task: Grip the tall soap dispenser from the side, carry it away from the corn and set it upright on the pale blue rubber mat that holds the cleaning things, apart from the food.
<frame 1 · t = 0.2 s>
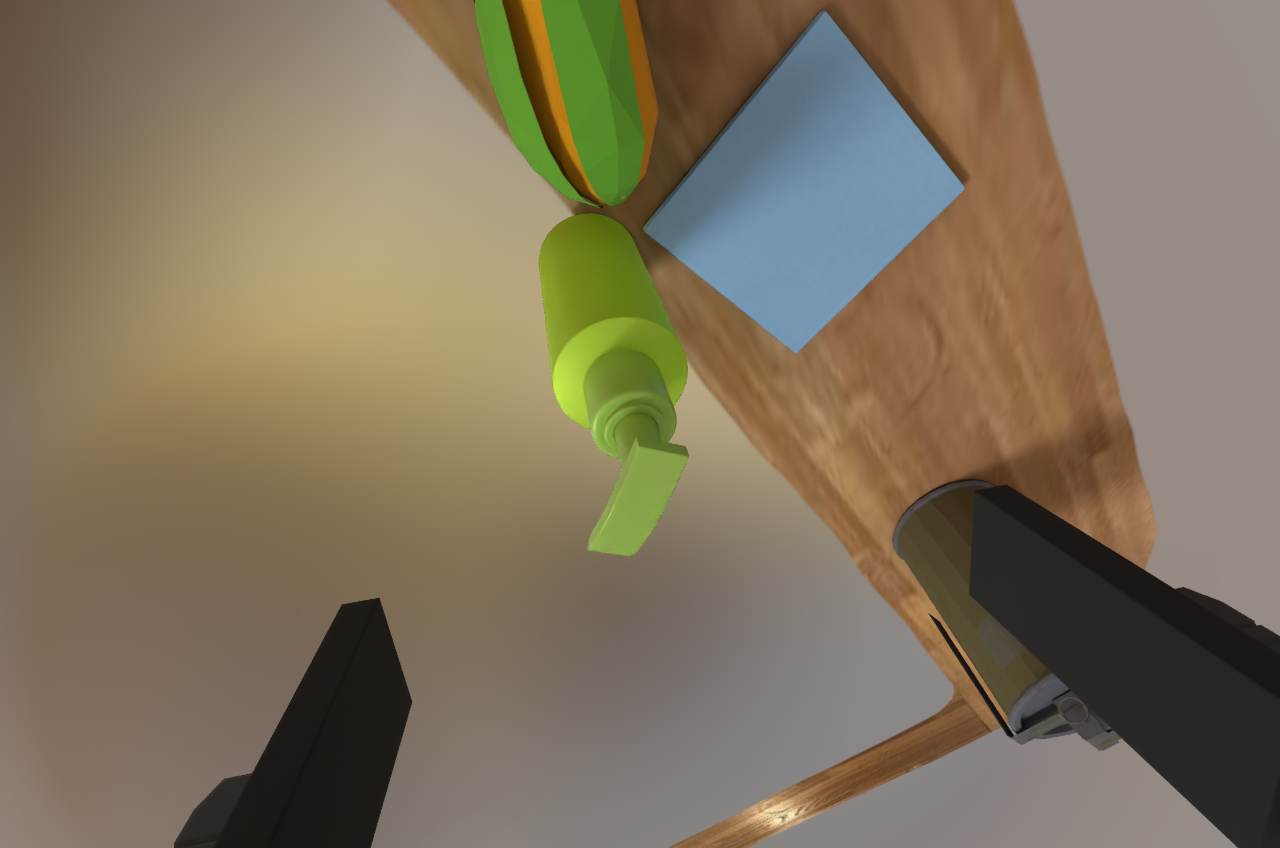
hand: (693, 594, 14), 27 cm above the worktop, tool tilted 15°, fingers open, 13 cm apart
canister: (943, 522, 58), on the worktop
blue mat: (805, 206, 38), on the worktop
soap dispenser: (585, 269, 38), on the worktop
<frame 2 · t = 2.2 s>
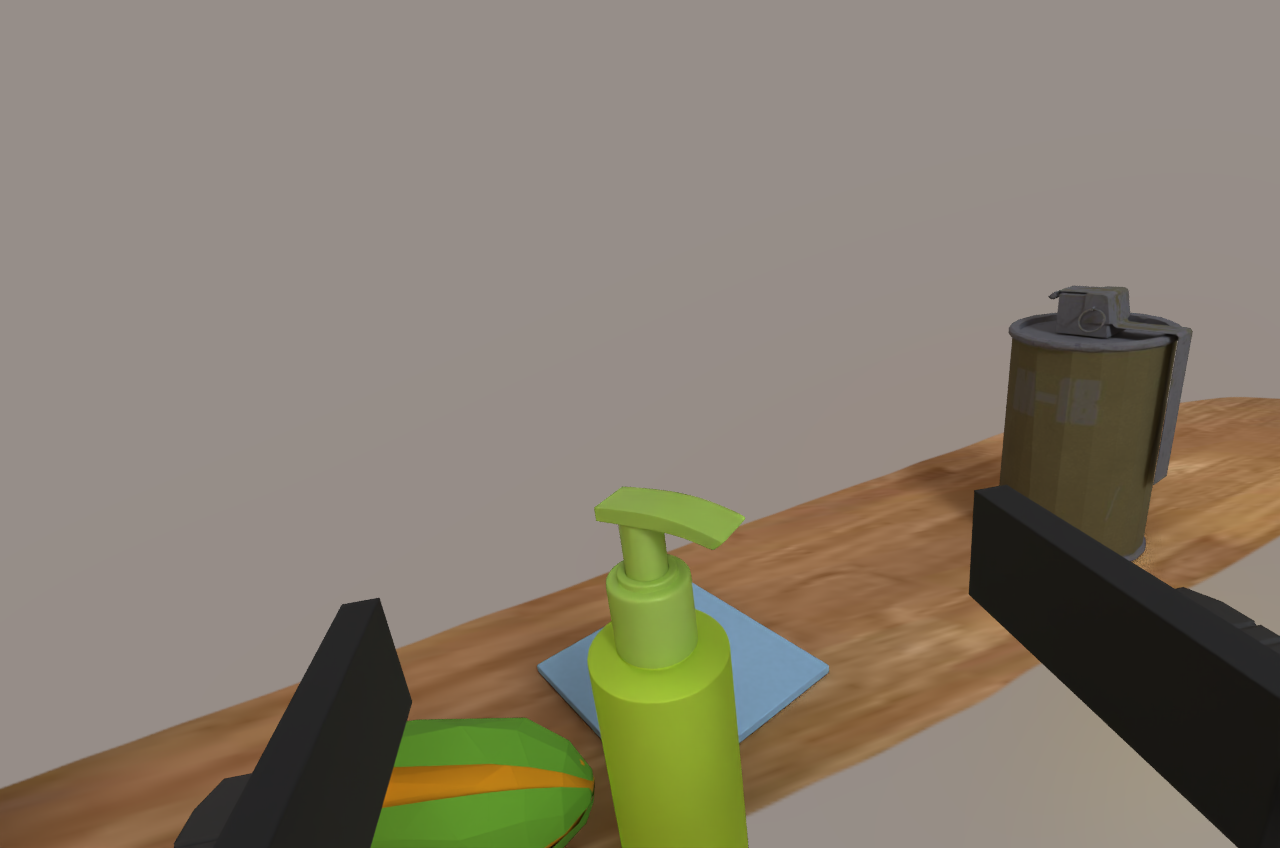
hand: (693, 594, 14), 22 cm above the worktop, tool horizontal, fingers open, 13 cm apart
canister: (1067, 536, 53), on the worktop
blue mat: (677, 672, 43), on the worktop
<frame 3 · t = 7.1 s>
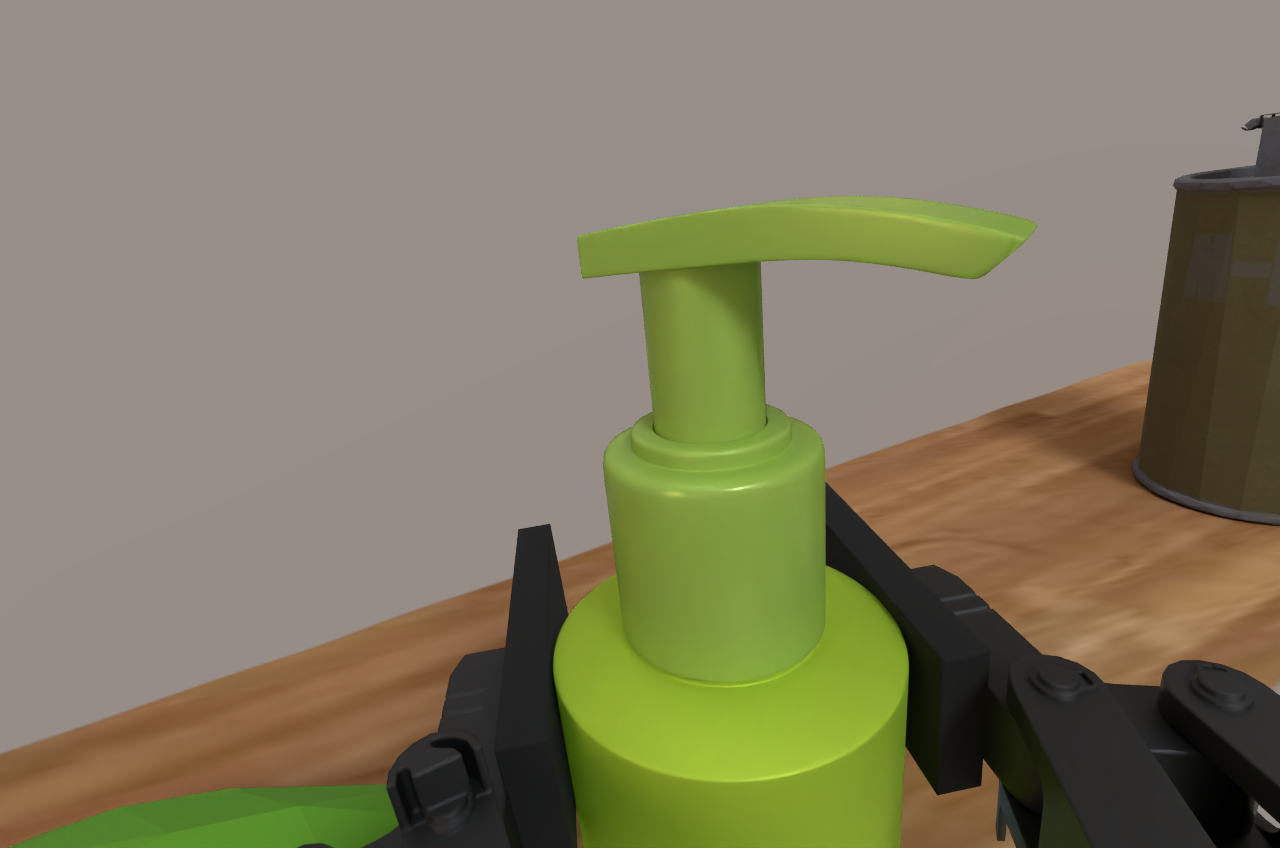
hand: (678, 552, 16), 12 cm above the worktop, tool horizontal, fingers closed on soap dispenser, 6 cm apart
canister: (1247, 487, 37), on the worktop
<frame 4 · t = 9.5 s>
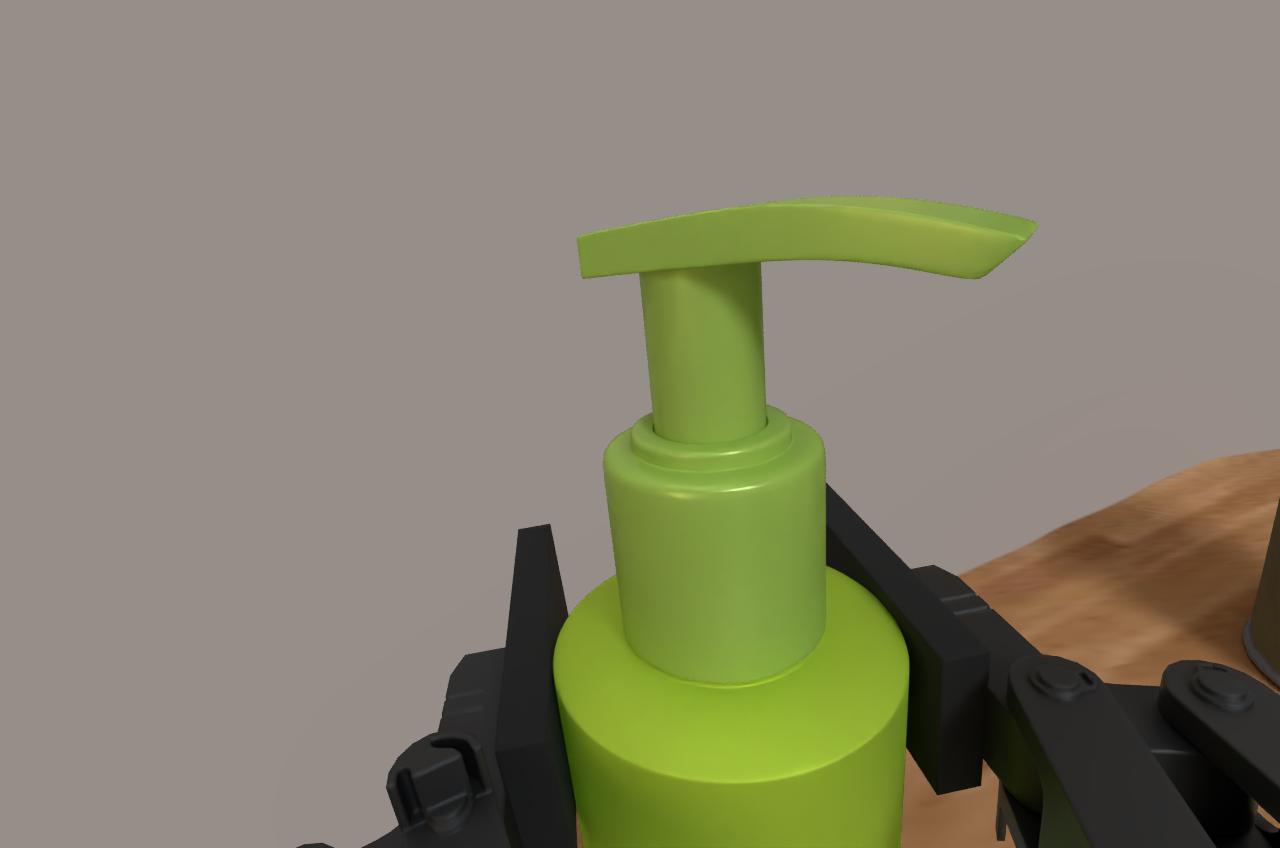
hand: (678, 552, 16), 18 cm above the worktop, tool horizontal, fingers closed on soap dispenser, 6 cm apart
when the fingers open (12 cm above the worktop, at t = 11.9 s): soap dispenser stays where it is, resting on blue mat.
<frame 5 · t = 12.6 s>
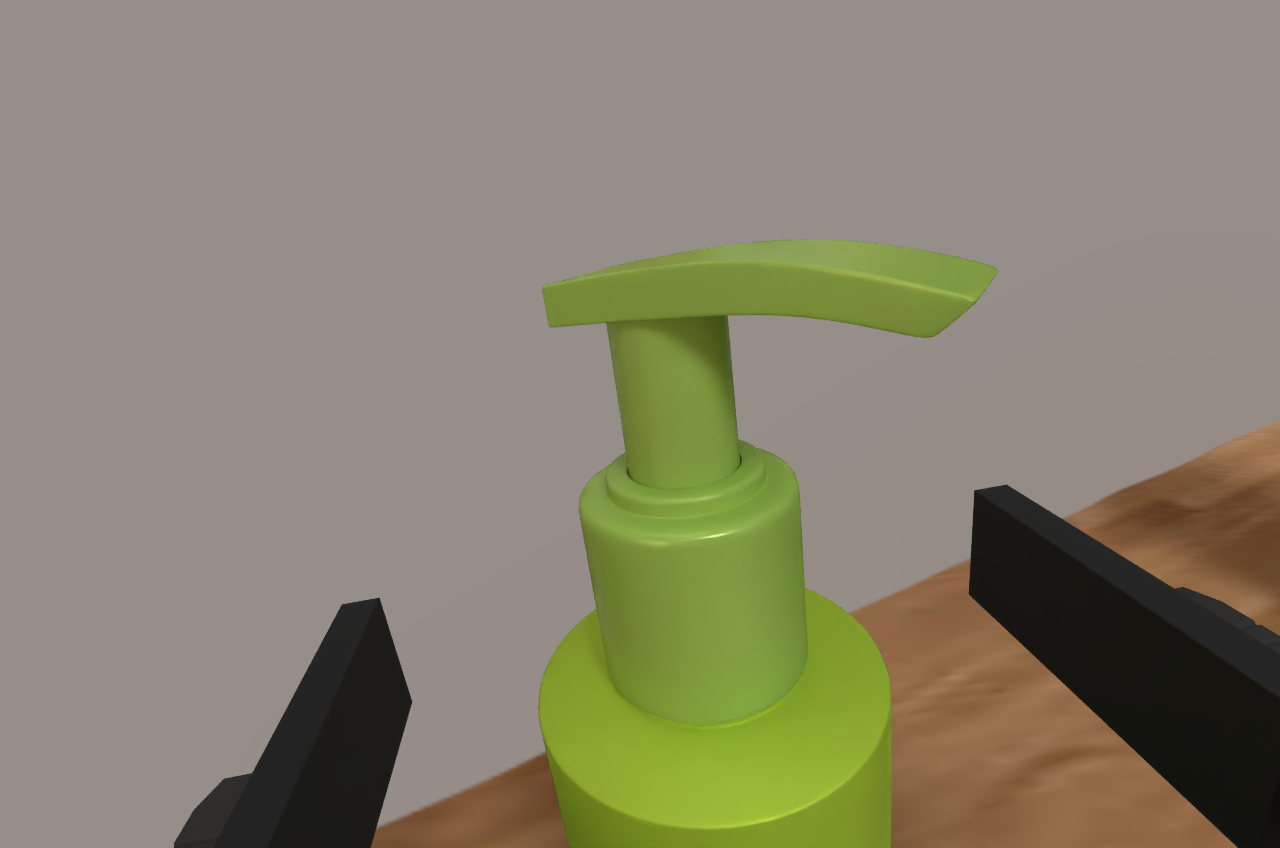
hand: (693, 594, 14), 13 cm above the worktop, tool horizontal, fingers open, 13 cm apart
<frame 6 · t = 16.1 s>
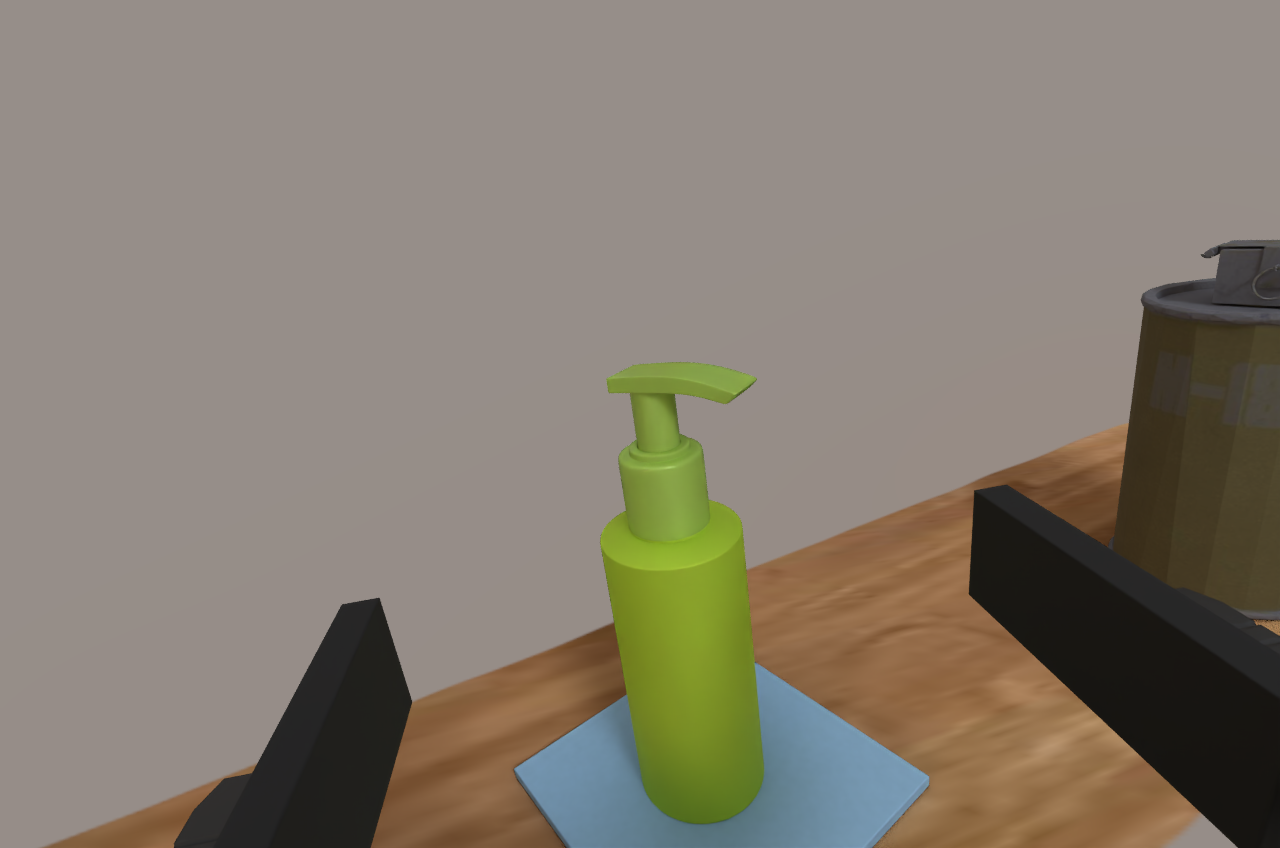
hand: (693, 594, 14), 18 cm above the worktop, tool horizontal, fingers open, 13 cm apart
canister: (1213, 573, 40), on the worktop
blue mat: (711, 781, 31), on the worktop
soap dispenser: (712, 775, 31), resting on blue mat
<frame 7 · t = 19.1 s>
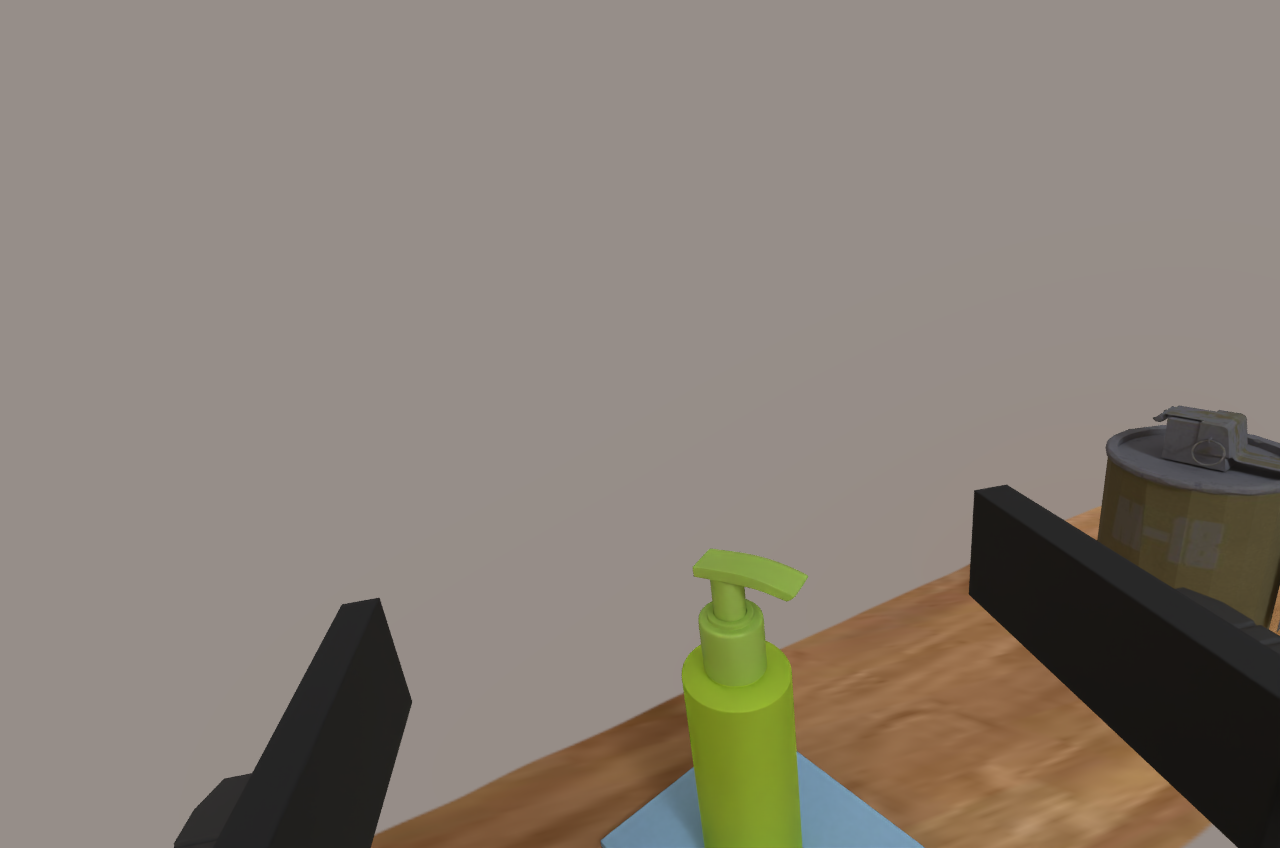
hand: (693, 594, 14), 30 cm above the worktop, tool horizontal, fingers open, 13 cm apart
canister: (1166, 666, 48), on the worktop
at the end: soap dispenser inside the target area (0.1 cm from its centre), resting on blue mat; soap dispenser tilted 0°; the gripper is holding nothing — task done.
